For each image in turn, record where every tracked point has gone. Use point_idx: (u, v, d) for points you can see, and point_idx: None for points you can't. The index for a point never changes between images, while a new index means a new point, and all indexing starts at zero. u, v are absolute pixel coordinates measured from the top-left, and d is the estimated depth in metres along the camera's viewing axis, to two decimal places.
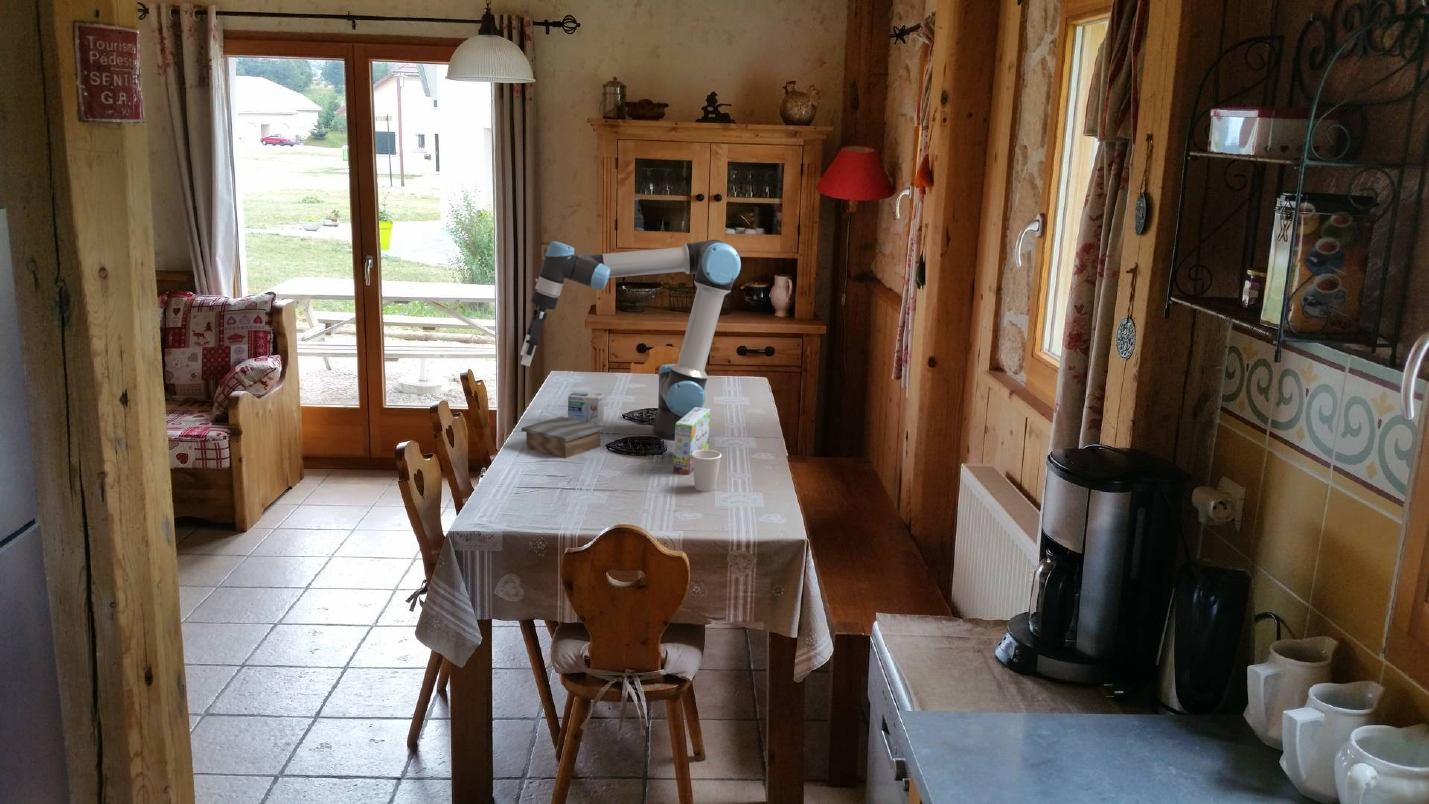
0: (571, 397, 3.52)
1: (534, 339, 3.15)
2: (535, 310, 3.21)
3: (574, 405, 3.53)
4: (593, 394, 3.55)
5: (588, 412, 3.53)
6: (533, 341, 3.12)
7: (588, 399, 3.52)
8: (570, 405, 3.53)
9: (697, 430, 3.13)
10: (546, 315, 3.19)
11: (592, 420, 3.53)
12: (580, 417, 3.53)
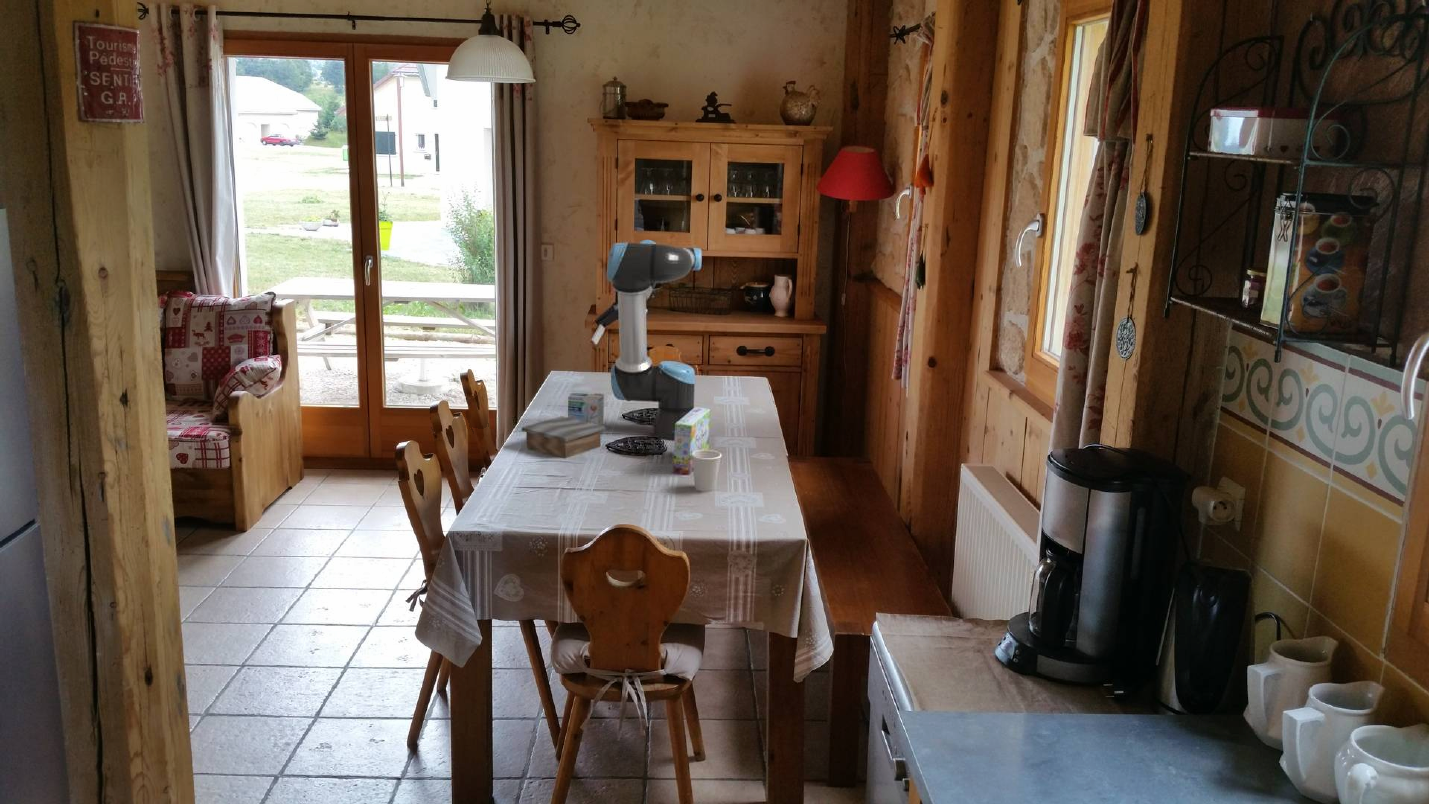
0: (571, 397, 3.52)
1: None
2: None
3: (574, 405, 3.53)
4: (593, 394, 3.55)
5: (588, 412, 3.53)
6: None
7: (588, 399, 3.52)
8: (570, 405, 3.53)
9: (697, 430, 3.13)
10: None
11: (592, 420, 3.53)
12: (580, 417, 3.53)
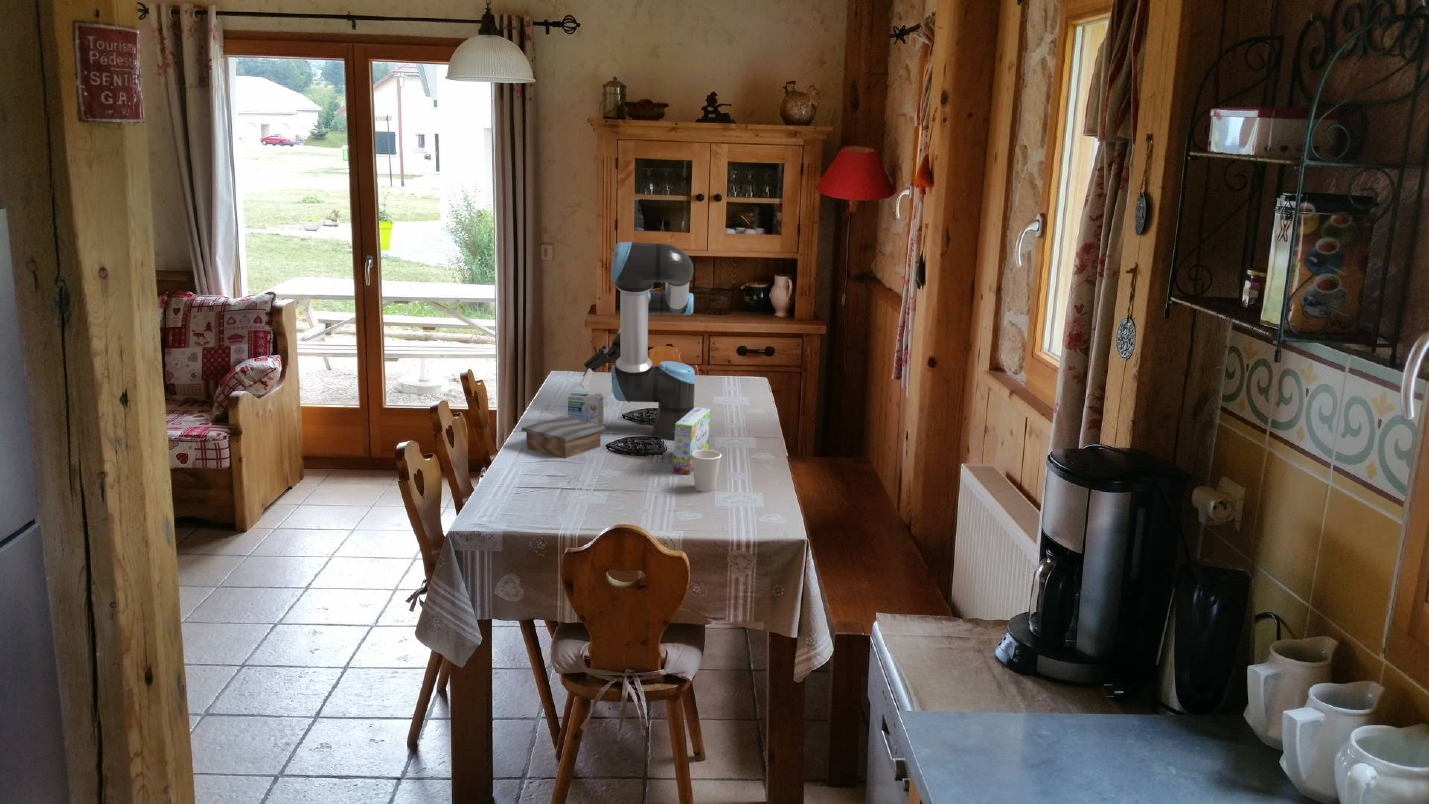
0: (571, 397, 3.52)
1: None
2: None
3: (574, 405, 3.53)
4: (593, 394, 3.55)
5: (588, 412, 3.53)
6: None
7: (588, 399, 3.52)
8: (570, 405, 3.53)
9: (697, 430, 3.13)
10: (612, 349, 3.66)
11: (592, 420, 3.53)
12: (580, 417, 3.53)
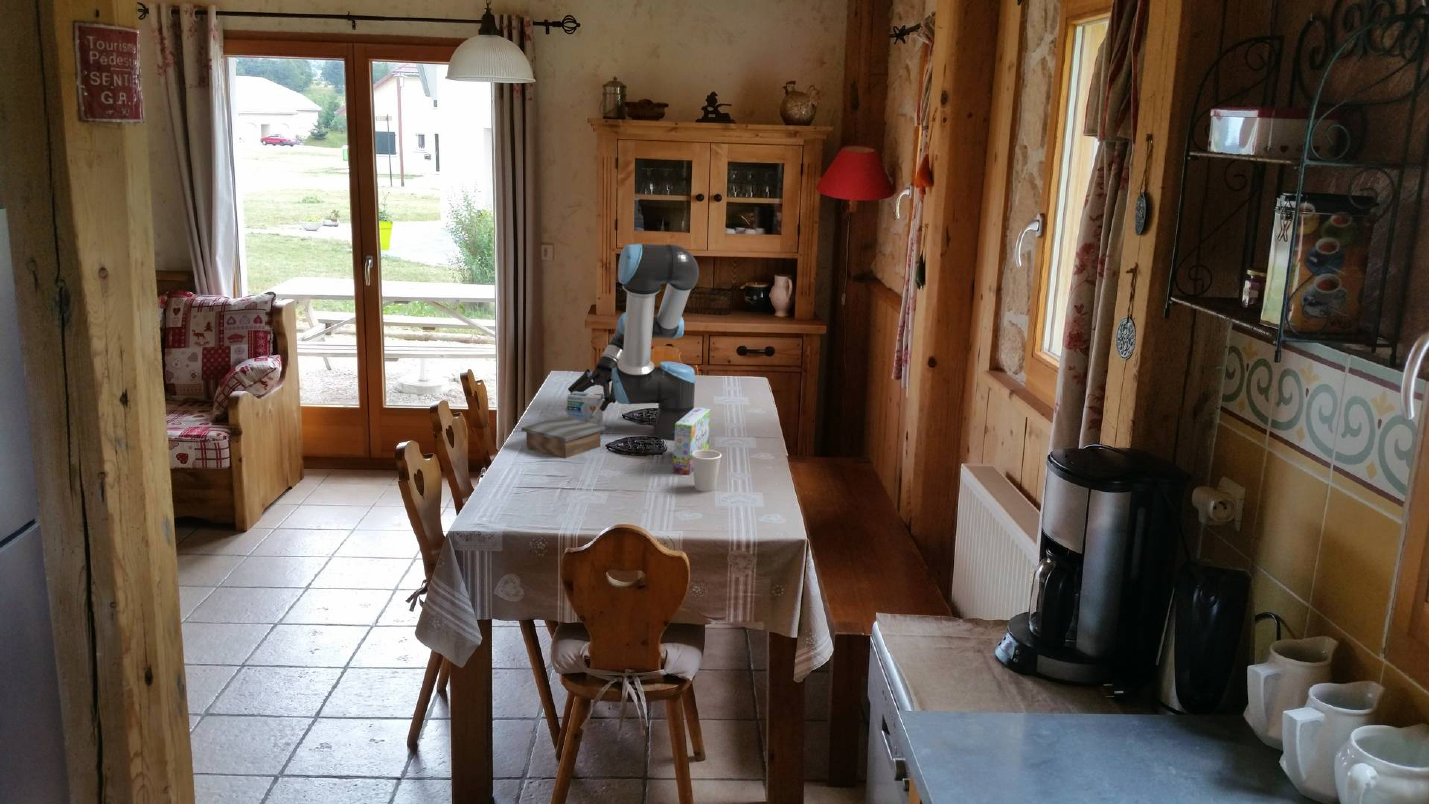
0: (570, 397, 3.52)
1: None
2: None
3: (573, 405, 3.53)
4: (593, 394, 3.55)
5: (587, 412, 3.52)
6: None
7: (587, 399, 3.51)
8: (569, 404, 3.53)
9: (697, 430, 3.13)
10: (596, 372, 3.60)
11: (591, 420, 3.53)
12: (579, 416, 3.53)
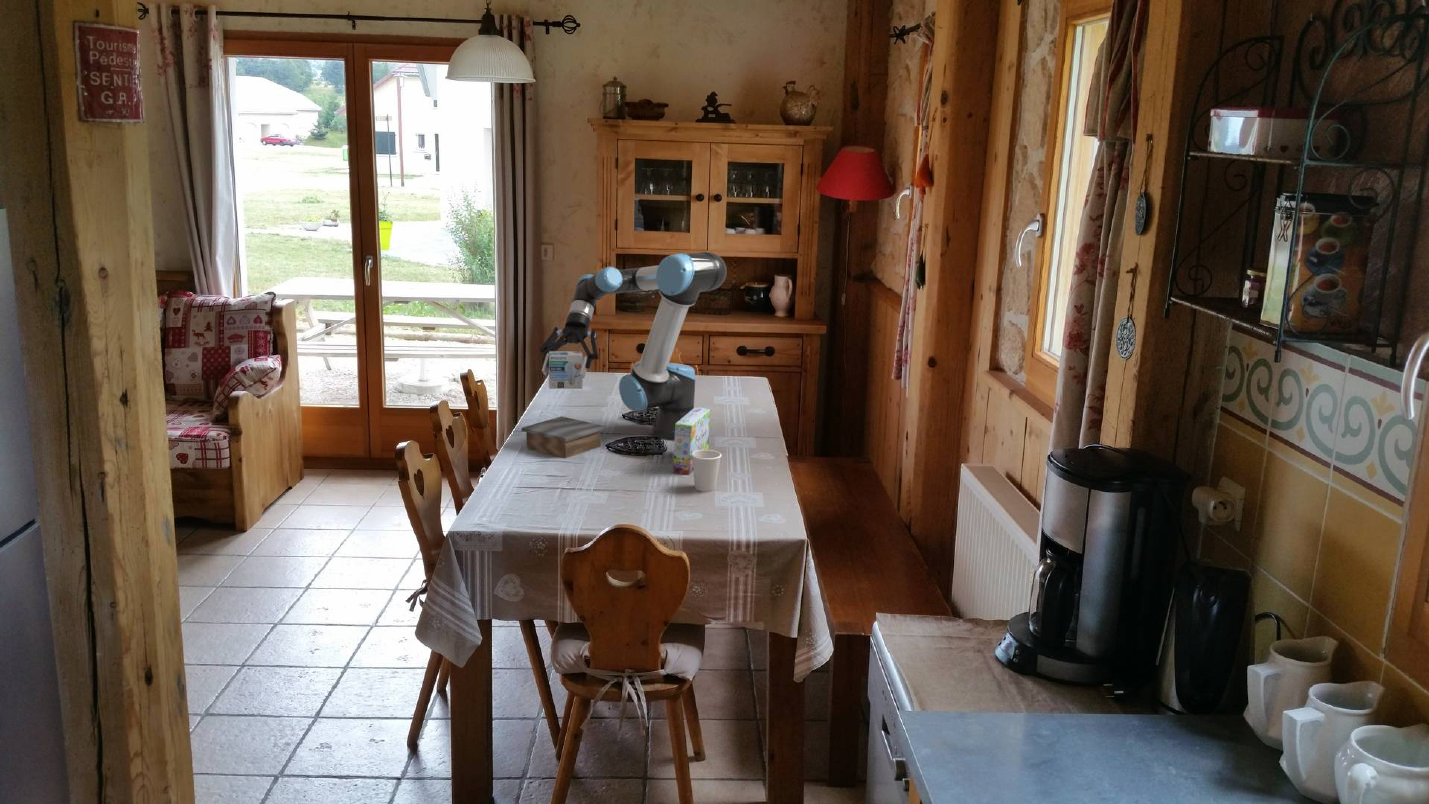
0: (553, 357, 3.35)
1: None
2: None
3: (556, 365, 3.35)
4: (572, 352, 3.40)
5: (572, 371, 3.37)
6: None
7: (571, 357, 3.36)
8: (552, 365, 3.35)
9: (697, 430, 3.13)
10: (568, 329, 3.44)
11: (576, 379, 3.38)
12: (563, 376, 3.37)
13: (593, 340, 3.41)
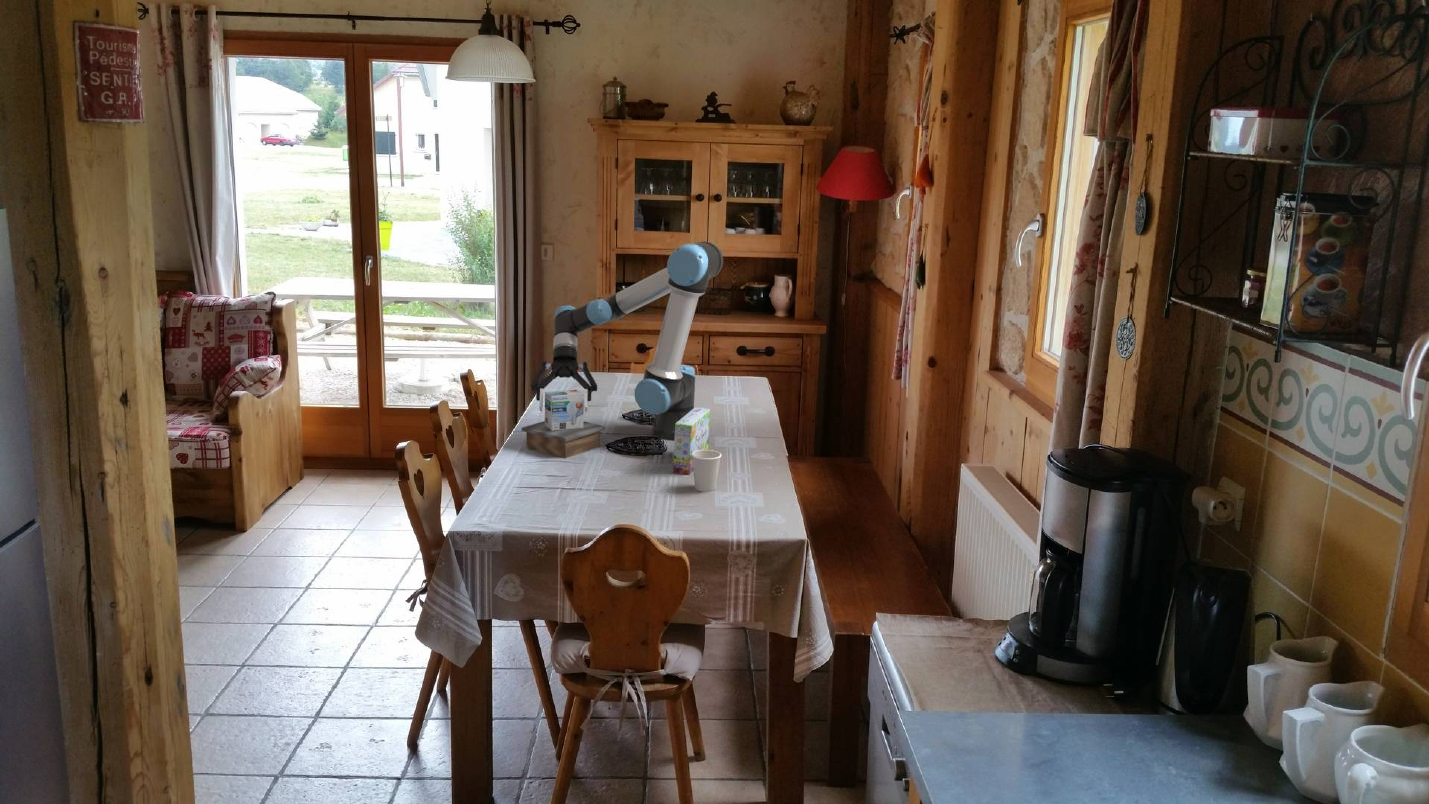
0: (555, 398, 3.24)
1: None
2: None
3: (558, 406, 3.25)
4: (569, 391, 3.31)
5: (573, 411, 3.28)
6: (531, 386, 3.31)
7: (573, 397, 3.27)
8: (554, 406, 3.25)
9: (697, 430, 3.13)
10: (558, 363, 3.34)
11: (577, 419, 3.29)
12: (565, 417, 3.27)
13: (588, 372, 3.34)
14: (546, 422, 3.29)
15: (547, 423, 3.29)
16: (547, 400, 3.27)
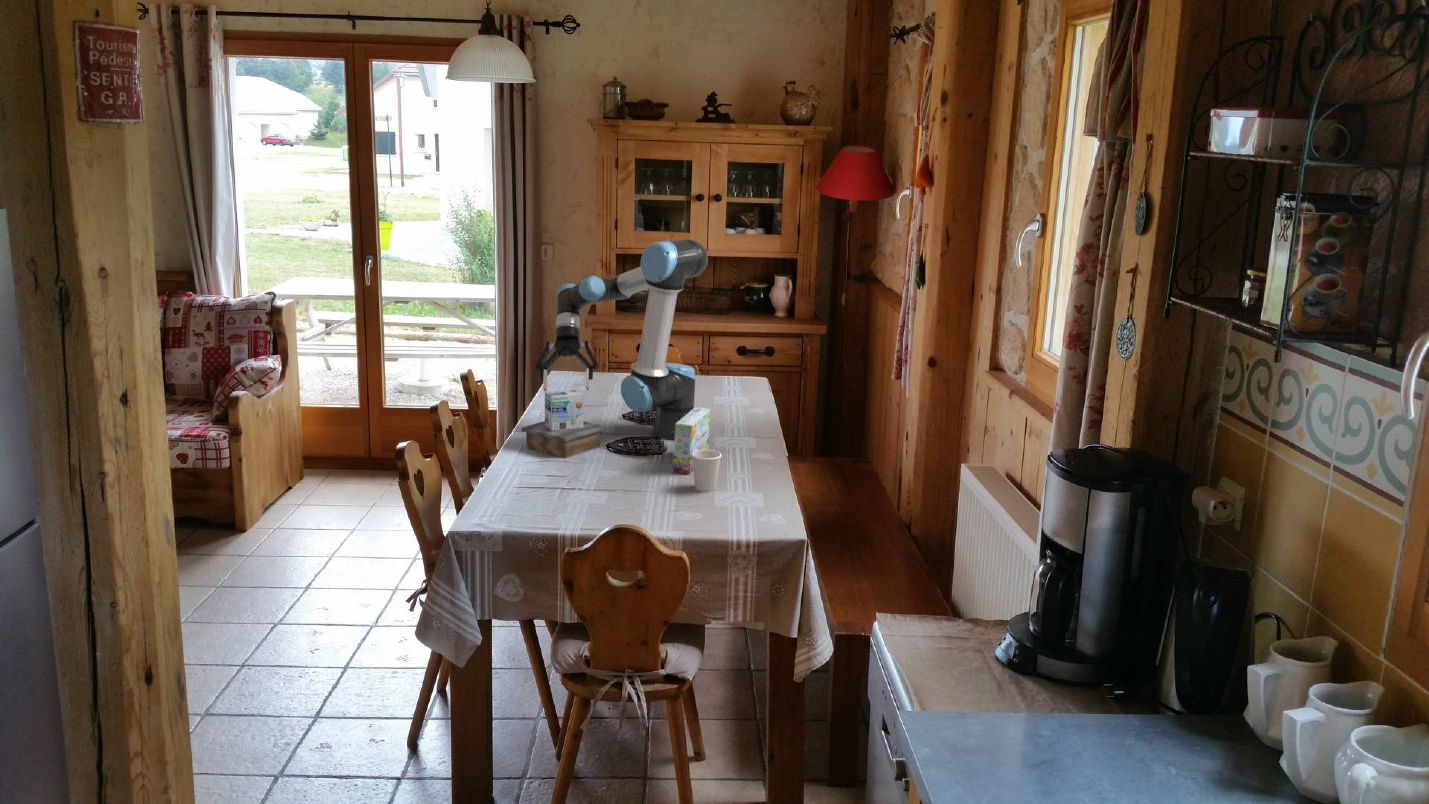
0: (555, 398, 3.24)
1: None
2: None
3: (558, 406, 3.25)
4: (569, 391, 3.31)
5: (573, 411, 3.28)
6: None
7: (573, 397, 3.27)
8: (554, 406, 3.25)
9: (697, 430, 3.13)
10: (561, 343, 3.48)
11: (577, 419, 3.29)
12: (565, 417, 3.27)
13: (589, 351, 3.48)
14: (546, 422, 3.29)
15: (547, 423, 3.29)
16: (547, 400, 3.27)
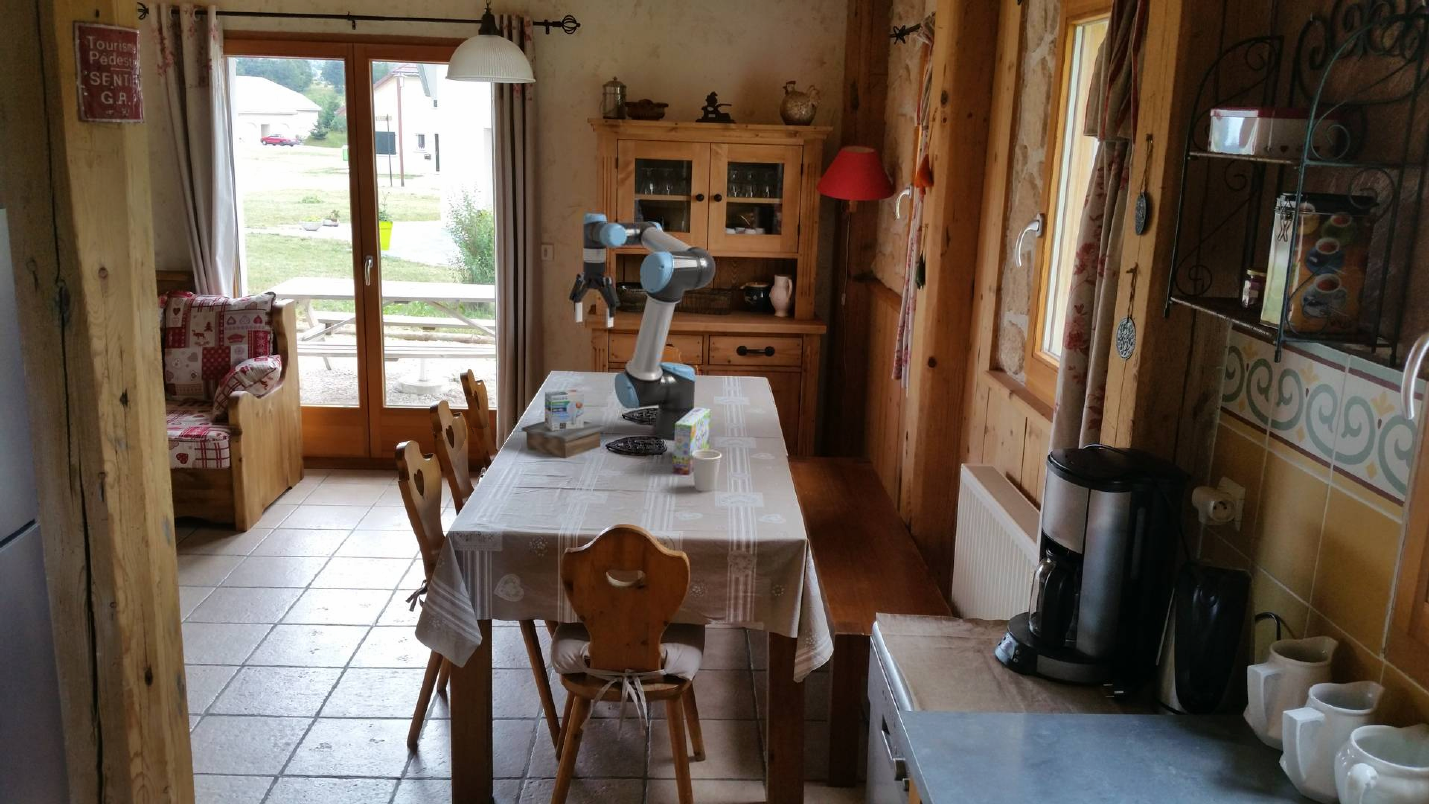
0: (555, 398, 3.24)
1: None
2: None
3: (558, 406, 3.25)
4: (569, 391, 3.31)
5: (573, 411, 3.28)
6: None
7: (573, 397, 3.27)
8: (554, 406, 3.25)
9: (697, 430, 3.13)
10: (586, 279, 3.59)
11: (577, 419, 3.29)
12: (565, 417, 3.27)
13: (609, 289, 3.55)
14: (546, 422, 3.29)
15: (547, 423, 3.29)
16: (547, 400, 3.27)
